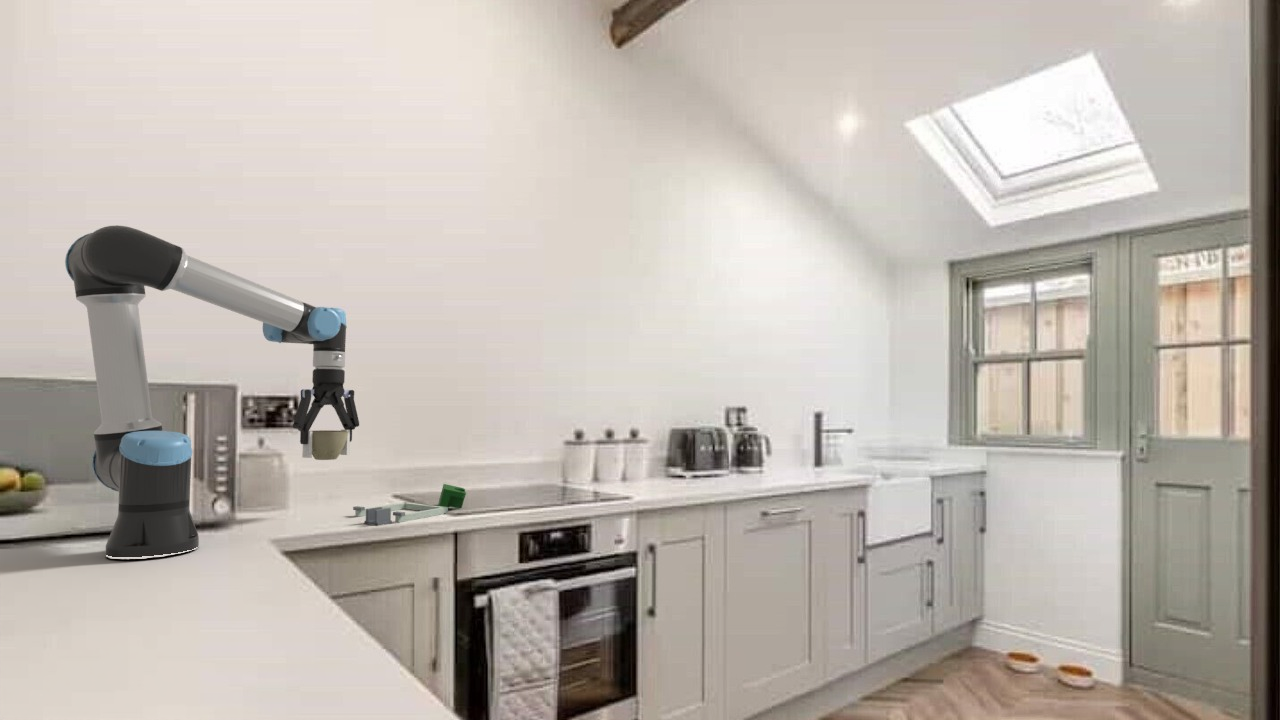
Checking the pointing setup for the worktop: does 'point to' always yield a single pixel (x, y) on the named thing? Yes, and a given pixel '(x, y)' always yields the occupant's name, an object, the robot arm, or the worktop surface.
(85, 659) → the worktop surface
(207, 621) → the worktop surface
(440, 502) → the clamp
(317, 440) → the flower pot
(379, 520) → the clip
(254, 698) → the worktop surface
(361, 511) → the holder
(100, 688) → the worktop surface
